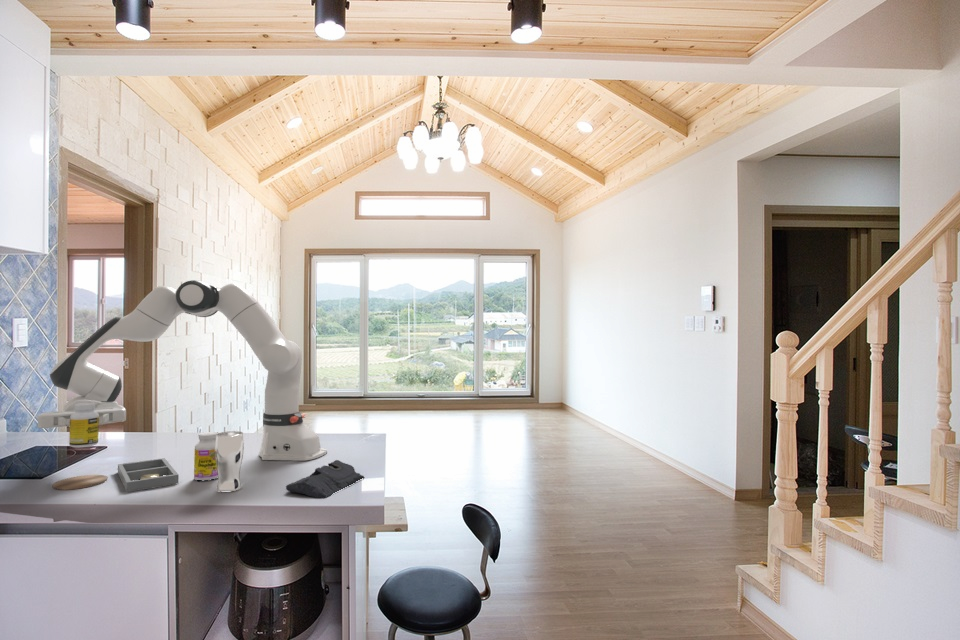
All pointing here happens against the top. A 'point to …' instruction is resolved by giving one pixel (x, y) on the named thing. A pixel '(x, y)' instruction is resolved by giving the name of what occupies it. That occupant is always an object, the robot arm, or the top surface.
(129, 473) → the parts tray
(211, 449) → the supplement bottle
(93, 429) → the pill bottle
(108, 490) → the top surface
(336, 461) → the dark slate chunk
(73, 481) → the walnut coaster
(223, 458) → the shiny silver flared piece
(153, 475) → the gold dome knob
